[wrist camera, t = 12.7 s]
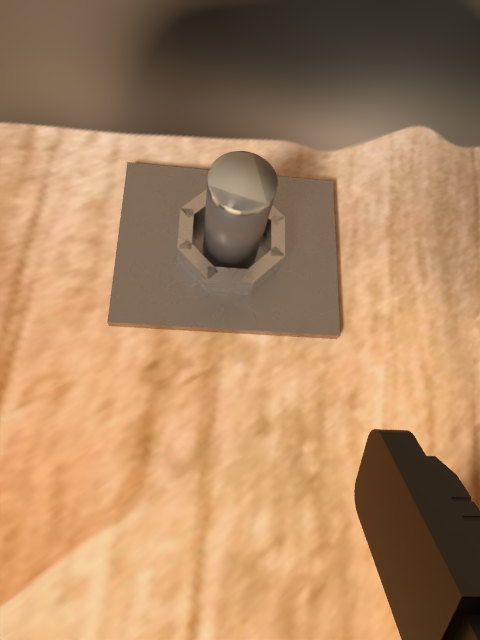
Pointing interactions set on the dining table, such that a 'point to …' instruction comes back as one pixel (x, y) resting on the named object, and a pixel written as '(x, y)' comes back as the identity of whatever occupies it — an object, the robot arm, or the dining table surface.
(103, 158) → the dining table surface
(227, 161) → the metal cylinder
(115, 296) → the octagonal socket base
